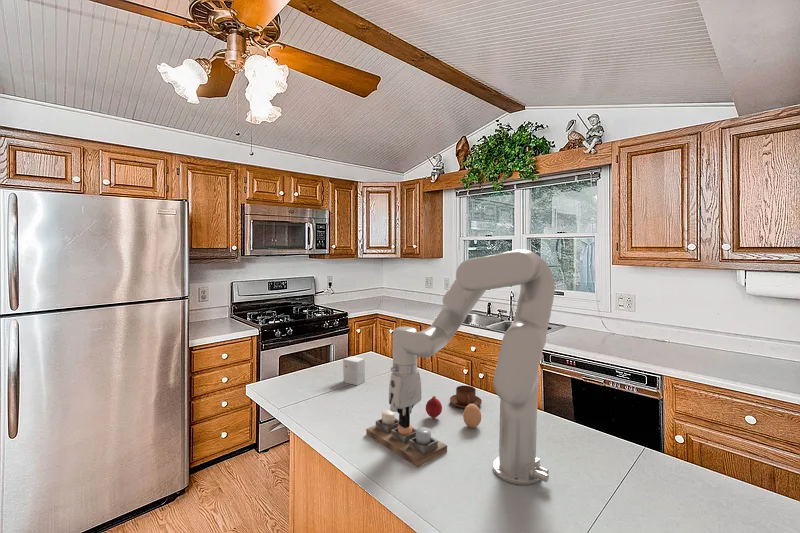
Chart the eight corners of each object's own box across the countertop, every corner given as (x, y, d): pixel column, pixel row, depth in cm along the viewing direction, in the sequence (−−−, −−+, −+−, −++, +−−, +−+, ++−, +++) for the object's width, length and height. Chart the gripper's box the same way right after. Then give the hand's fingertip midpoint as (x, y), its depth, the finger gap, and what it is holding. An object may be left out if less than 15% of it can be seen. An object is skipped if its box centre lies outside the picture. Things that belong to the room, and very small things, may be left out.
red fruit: (441, 422, 133) (441, 400, 133) (424, 421, 135) (424, 398, 134) (442, 415, 139) (442, 393, 139) (426, 413, 140) (426, 392, 140)
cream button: (398, 422, 125) (398, 413, 125) (387, 426, 123) (387, 417, 122) (389, 417, 129) (389, 408, 129) (379, 421, 126) (379, 412, 126)
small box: (365, 381, 172) (365, 358, 172) (357, 385, 168) (357, 361, 167) (351, 378, 177) (351, 355, 176) (343, 382, 172) (343, 358, 171)
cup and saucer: (487, 408, 145) (488, 392, 145) (460, 413, 141) (460, 397, 141) (470, 396, 157) (471, 381, 156) (444, 401, 152) (444, 385, 152)
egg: (481, 432, 127) (481, 408, 126) (462, 430, 128) (462, 407, 127) (481, 423, 133) (481, 401, 132) (463, 422, 134) (463, 399, 133)
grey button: (433, 441, 113) (433, 431, 113) (423, 446, 110) (423, 436, 110) (423, 435, 117) (423, 426, 116) (412, 440, 114) (412, 430, 114)
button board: (447, 451, 115) (447, 438, 114) (417, 467, 107) (417, 453, 107) (394, 423, 133) (394, 412, 133) (366, 434, 125) (366, 422, 125)
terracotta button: (415, 435, 119) (415, 426, 119) (404, 440, 117) (404, 431, 116) (405, 430, 123) (405, 421, 123) (395, 435, 120) (395, 425, 120)
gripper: (394, 376, 111) (393, 438, 112) (430, 365, 121) (429, 423, 122) (378, 369, 116) (377, 428, 118) (414, 360, 126) (413, 414, 127)
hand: (404, 425), depth 120 cm, fingers closed
